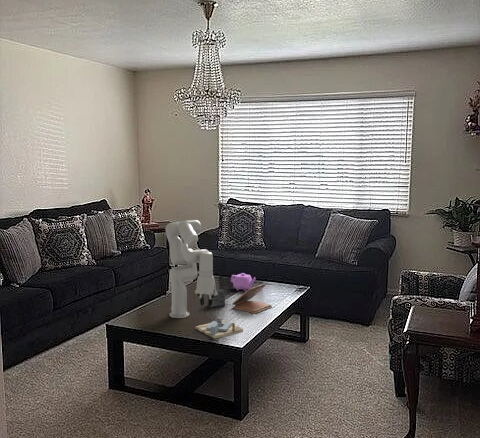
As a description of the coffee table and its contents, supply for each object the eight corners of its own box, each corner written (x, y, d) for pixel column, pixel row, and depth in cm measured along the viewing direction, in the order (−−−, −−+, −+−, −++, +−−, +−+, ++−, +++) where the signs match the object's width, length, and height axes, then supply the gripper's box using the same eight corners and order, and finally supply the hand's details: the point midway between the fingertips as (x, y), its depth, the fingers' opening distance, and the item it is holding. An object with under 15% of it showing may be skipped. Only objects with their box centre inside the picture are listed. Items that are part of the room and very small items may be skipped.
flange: (212, 323, 307) (212, 315, 307) (231, 324, 305) (231, 317, 304) (202, 333, 289) (202, 326, 289) (223, 335, 286) (223, 327, 286)
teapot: (228, 290, 389) (227, 273, 388) (234, 286, 401) (234, 270, 399) (252, 292, 382) (252, 276, 380) (258, 288, 393) (258, 272, 392)
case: (249, 301, 359) (249, 279, 357) (273, 307, 346) (273, 284, 344) (230, 308, 344) (230, 285, 342) (255, 314, 331) (255, 290, 329)
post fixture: (195, 328, 303) (195, 317, 302) (223, 322, 314) (223, 311, 313) (214, 338, 287) (214, 326, 286) (243, 331, 298) (243, 319, 297)
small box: (222, 303, 354) (222, 288, 353) (225, 306, 348) (225, 291, 347) (207, 305, 351) (207, 290, 349) (210, 307, 345) (210, 292, 343)
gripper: (189, 274, 288) (190, 305, 290) (217, 276, 283) (217, 308, 285) (195, 271, 295) (195, 302, 297) (222, 273, 290) (222, 304, 292)
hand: (206, 304), depth 291 cm, fingers open, 4 cm apart
